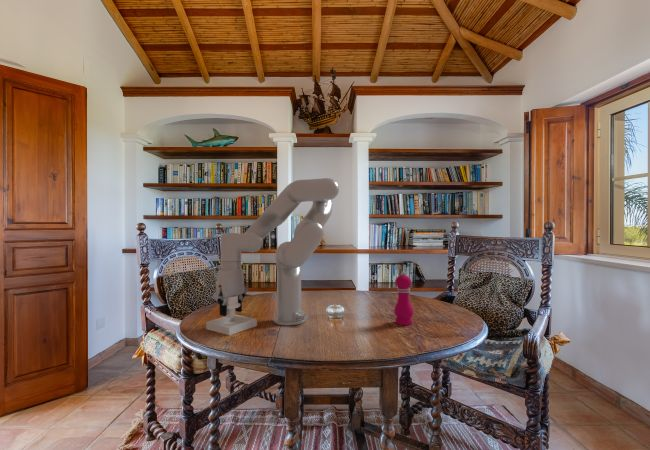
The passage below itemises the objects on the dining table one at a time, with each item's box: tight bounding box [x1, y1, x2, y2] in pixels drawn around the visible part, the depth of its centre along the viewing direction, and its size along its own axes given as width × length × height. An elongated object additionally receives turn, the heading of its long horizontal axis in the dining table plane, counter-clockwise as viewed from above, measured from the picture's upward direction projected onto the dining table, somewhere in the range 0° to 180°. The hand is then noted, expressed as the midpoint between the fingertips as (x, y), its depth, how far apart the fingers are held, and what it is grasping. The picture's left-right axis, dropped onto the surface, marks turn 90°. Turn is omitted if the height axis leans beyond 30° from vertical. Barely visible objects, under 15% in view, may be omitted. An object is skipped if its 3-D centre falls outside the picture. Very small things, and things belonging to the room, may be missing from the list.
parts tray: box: [205, 314, 258, 336], centre depth 128 cm, size 13×13×3 cm
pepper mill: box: [393, 270, 414, 326], centre depth 131 cm, size 7×7×20 cm
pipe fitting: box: [225, 295, 240, 318], centre depth 127 cm, size 6×7×8 cm
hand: (230, 313), depth 127 cm, fingers closed on pipe fitting, 6 cm apart
